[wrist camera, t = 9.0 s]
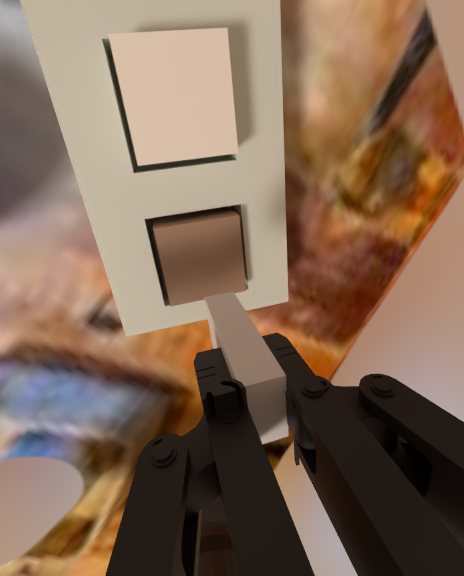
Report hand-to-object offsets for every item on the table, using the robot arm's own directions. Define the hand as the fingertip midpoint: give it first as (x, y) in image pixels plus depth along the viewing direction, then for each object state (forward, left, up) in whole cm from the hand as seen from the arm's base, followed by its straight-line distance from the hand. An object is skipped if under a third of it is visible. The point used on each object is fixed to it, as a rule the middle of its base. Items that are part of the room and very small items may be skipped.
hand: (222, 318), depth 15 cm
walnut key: (0, 0, -12) cm, 12 cm away
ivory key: (+10, 0, -10) cm, 15 cm away
